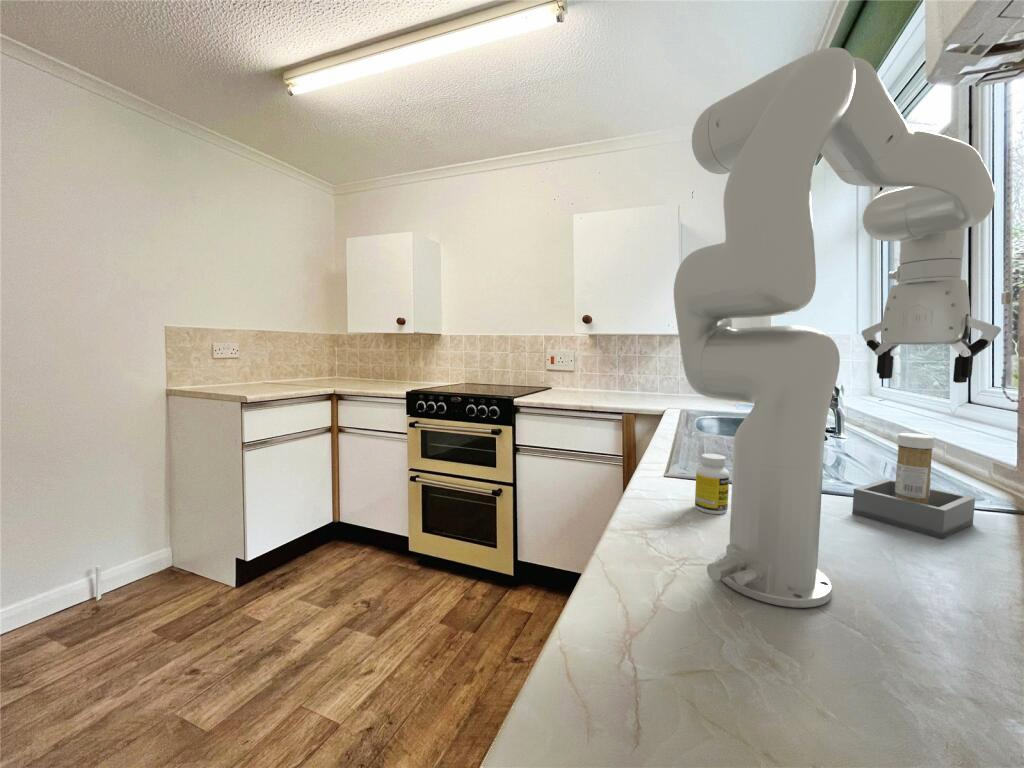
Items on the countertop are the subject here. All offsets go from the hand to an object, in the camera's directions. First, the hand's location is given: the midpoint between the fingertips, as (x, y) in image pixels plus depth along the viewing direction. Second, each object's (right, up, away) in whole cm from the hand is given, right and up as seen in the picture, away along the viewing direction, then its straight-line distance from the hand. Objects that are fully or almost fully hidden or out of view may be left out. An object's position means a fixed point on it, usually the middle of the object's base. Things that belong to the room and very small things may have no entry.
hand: (920, 380), depth 75 cm
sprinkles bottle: (0, -23, +2) cm, 23 cm away
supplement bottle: (-32, -23, +7) cm, 40 cm away
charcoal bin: (0, -24, +2) cm, 24 cm away
